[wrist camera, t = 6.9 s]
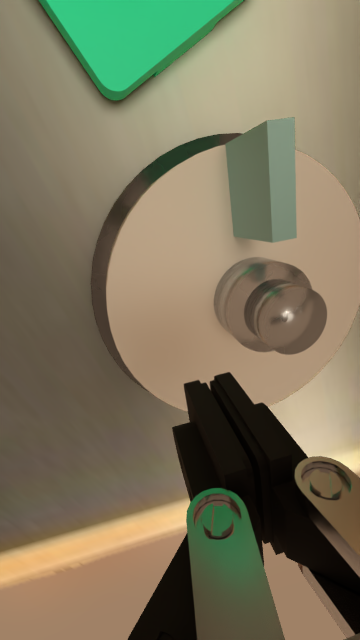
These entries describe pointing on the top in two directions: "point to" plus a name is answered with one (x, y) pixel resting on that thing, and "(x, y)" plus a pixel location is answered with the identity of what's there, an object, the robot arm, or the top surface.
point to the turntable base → (116, 220)
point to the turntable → (230, 263)
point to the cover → (269, 306)
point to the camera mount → (132, 35)
